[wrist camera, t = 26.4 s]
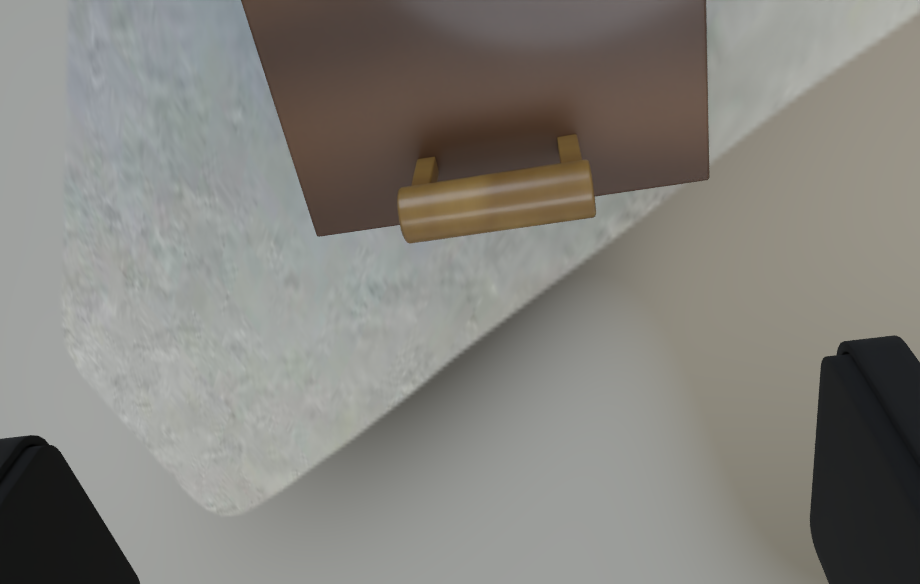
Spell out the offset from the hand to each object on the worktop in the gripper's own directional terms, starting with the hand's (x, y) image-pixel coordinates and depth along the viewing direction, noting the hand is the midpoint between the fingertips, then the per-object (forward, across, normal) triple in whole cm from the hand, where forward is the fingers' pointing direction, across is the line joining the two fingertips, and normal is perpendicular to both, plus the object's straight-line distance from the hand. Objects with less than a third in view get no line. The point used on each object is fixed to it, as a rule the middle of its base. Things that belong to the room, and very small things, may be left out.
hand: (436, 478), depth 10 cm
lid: (+20, 0, -1) cm, 20 cm away
